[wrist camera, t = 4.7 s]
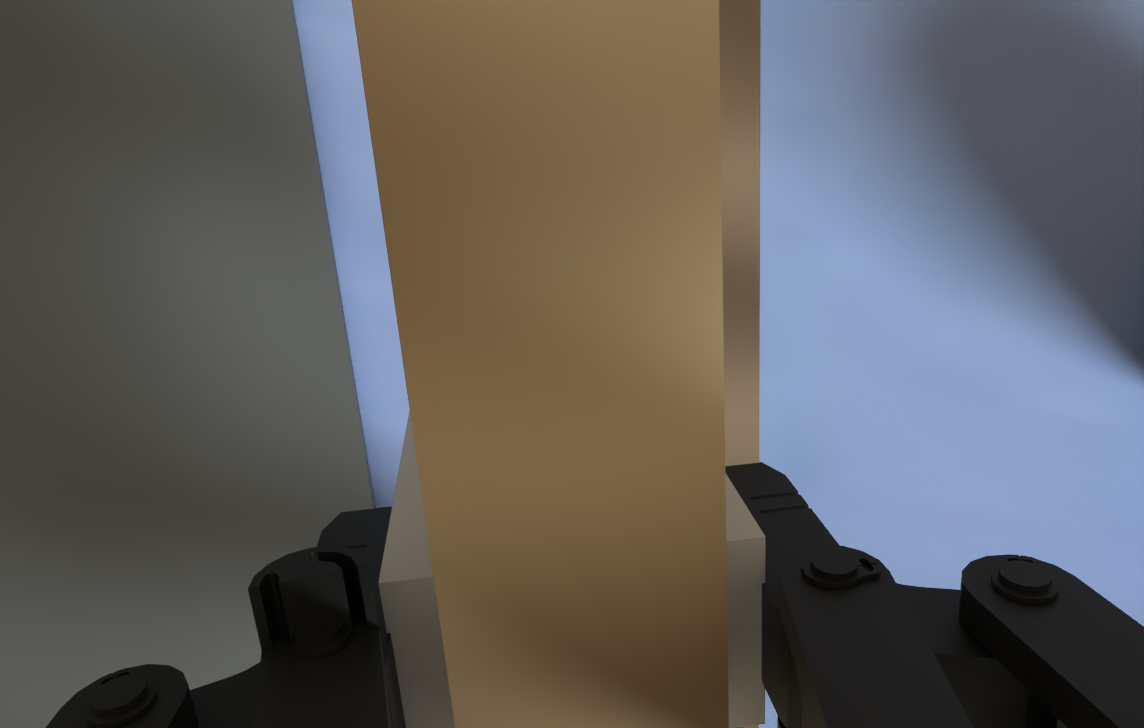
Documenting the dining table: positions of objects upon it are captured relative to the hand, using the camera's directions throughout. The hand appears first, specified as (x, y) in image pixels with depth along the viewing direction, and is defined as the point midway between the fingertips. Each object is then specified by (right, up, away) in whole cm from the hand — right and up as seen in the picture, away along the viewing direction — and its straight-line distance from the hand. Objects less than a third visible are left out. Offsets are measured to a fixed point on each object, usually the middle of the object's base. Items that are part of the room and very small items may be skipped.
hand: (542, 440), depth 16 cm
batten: (0, -1, -3) cm, 3 cm away
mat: (-11, +2, +6) cm, 13 cm away
